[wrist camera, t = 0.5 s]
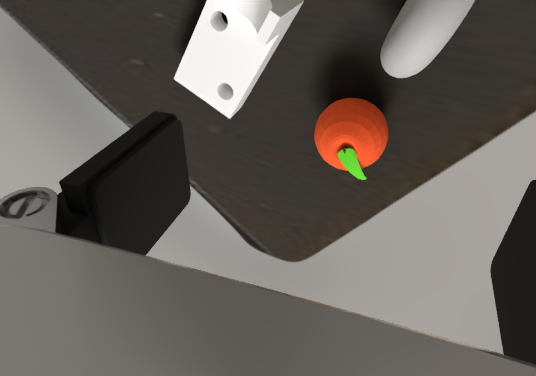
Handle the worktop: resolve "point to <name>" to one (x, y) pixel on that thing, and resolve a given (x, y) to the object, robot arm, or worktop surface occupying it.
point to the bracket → (233, 49)
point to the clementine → (351, 135)
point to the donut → (421, 34)
